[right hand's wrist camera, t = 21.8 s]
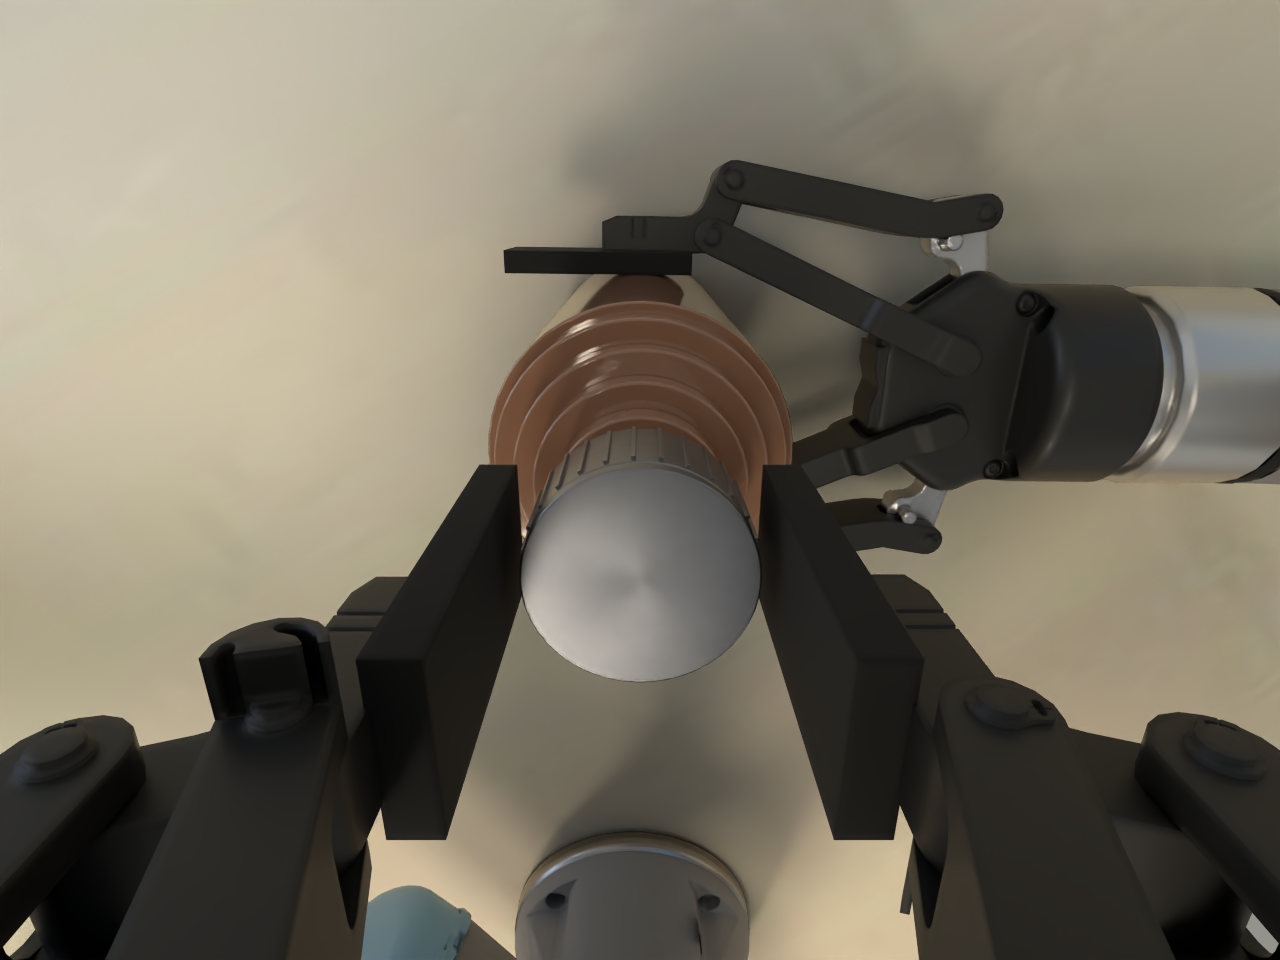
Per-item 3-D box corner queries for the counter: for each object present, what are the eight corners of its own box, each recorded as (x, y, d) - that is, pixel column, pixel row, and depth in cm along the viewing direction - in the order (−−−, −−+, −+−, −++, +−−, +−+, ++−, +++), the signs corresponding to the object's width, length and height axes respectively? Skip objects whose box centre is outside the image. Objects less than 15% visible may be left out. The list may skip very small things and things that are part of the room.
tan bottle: (756, 366, 34) (940, 607, 13) (622, 458, 35) (598, 802, 15) (660, 222, 31) (698, 241, 11) (521, 329, 33) (325, 521, 12)
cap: (515, 589, 15) (492, 653, 13) (563, 398, 13) (548, 434, 11) (708, 637, 15) (719, 708, 13) (776, 457, 14) (801, 503, 12)
